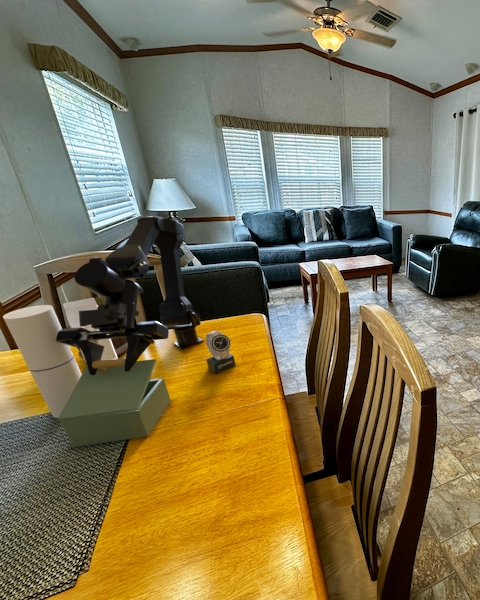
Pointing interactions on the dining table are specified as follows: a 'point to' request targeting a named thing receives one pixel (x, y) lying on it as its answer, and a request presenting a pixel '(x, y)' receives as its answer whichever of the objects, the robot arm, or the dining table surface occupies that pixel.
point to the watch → (219, 352)
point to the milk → (73, 319)
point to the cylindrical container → (45, 354)
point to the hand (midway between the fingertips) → (109, 373)
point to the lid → (109, 389)
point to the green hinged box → (121, 420)
